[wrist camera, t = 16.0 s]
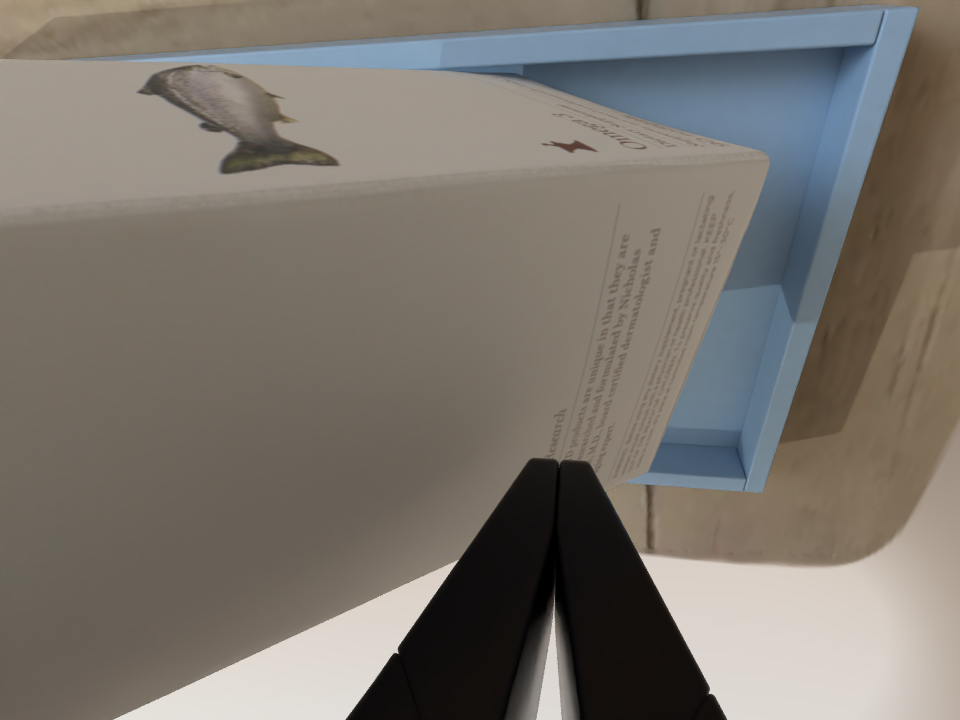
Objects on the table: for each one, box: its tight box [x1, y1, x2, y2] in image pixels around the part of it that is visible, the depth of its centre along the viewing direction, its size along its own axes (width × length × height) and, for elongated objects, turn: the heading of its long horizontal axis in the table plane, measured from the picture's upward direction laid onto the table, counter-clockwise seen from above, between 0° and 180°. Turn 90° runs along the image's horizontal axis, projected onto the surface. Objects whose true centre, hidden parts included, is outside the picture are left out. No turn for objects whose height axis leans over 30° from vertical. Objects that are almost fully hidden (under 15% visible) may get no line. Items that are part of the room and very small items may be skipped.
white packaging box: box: [0, 59, 770, 720], centre depth 10 cm, size 7×7×13 cm
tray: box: [64, 4, 919, 493], centre depth 17 cm, size 23×13×2 cm, turn 94°
